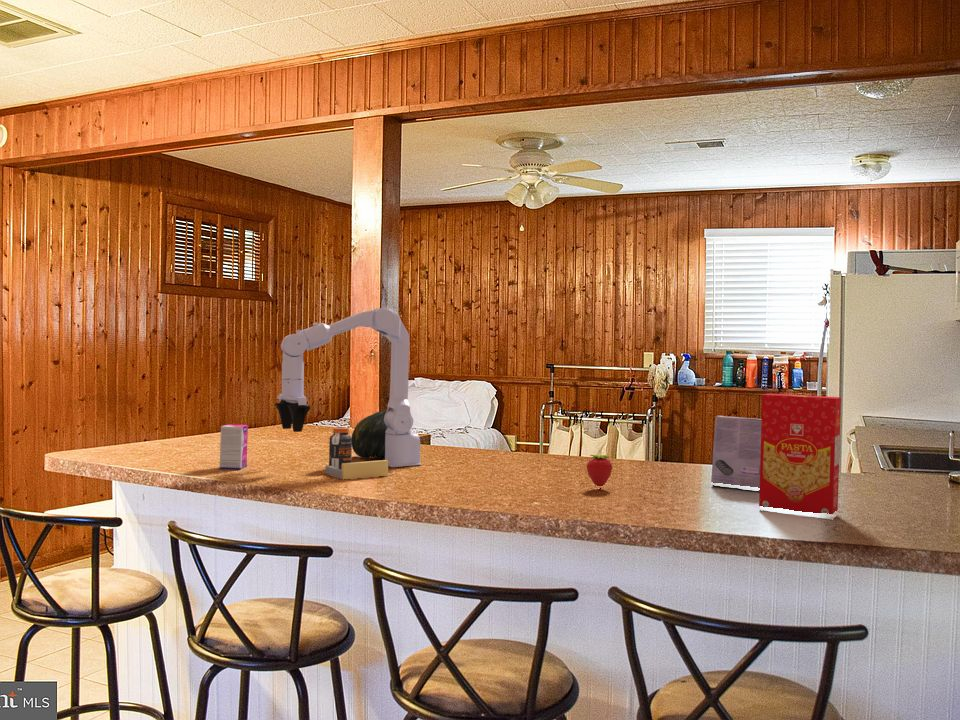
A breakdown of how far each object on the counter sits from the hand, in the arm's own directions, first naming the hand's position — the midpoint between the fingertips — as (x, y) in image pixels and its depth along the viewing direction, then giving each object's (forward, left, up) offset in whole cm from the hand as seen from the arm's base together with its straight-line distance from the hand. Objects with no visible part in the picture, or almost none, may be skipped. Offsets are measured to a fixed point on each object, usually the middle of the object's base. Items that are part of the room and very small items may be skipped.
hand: (292, 430), depth 216 cm
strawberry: (-53, +63, -11) cm, 83 cm away
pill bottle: (-11, +7, -11) cm, 17 cm away
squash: (-29, -6, -11) cm, 32 cm away
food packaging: (-72, +104, -11) cm, 127 cm away
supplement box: (+13, -8, -11) cm, 19 cm away
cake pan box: (-86, +82, -11) cm, 119 cm away
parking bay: (-11, +17, -10) cm, 23 cm away
